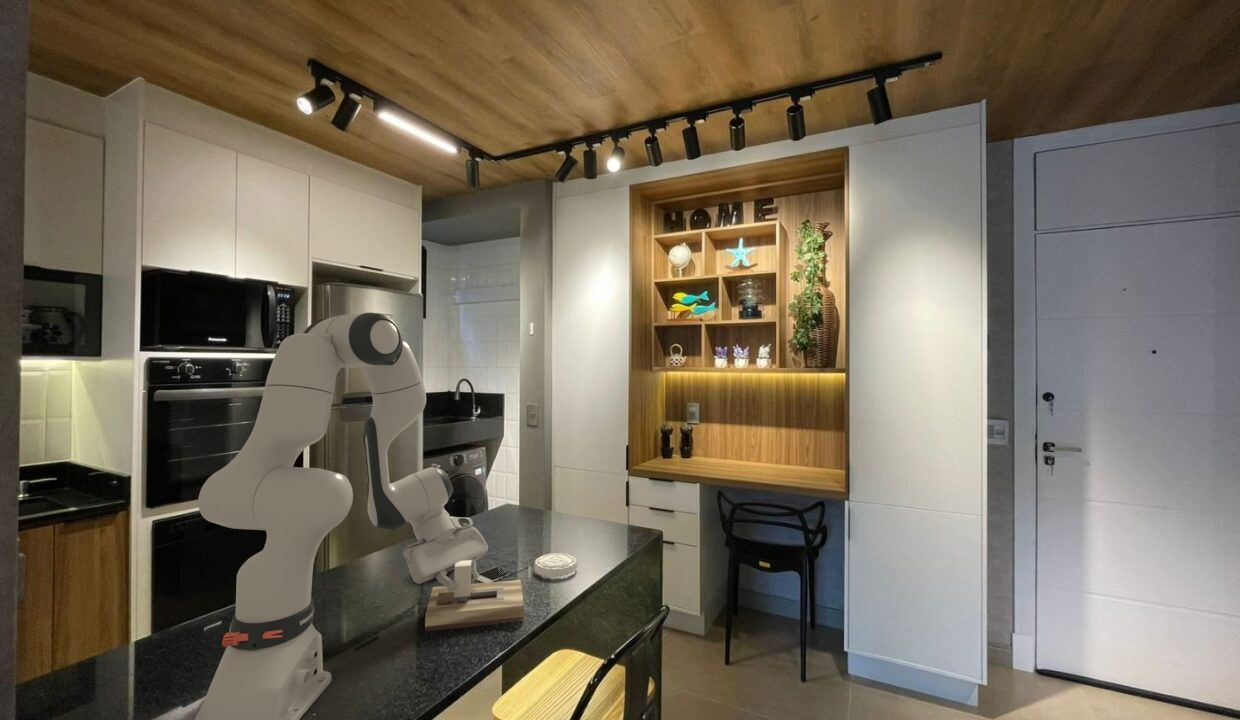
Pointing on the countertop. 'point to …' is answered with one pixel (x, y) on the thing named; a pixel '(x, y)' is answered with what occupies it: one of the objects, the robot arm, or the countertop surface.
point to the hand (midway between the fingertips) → (464, 584)
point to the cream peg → (462, 581)
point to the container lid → (555, 564)
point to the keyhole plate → (475, 606)
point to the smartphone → (490, 575)
